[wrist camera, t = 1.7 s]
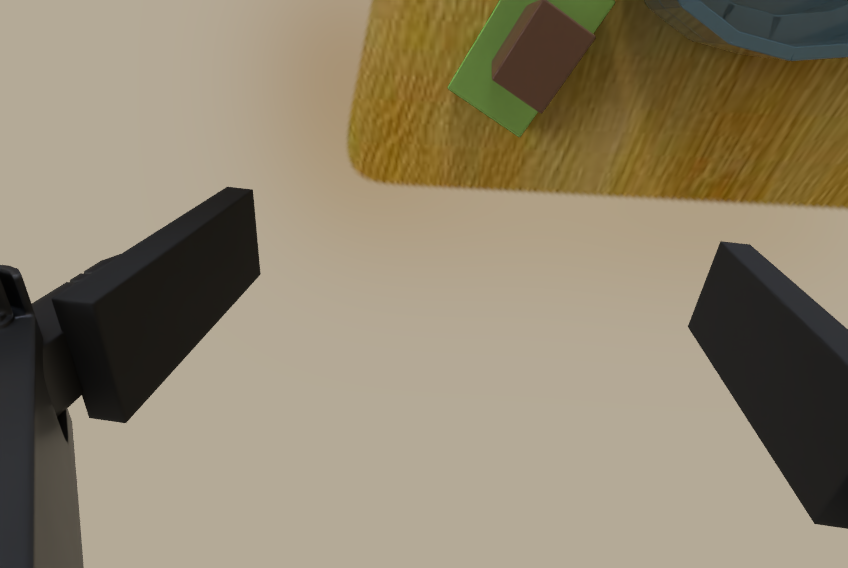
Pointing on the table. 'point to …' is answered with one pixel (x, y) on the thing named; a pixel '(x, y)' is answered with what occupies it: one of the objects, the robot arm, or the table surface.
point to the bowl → (762, 26)
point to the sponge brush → (526, 57)
